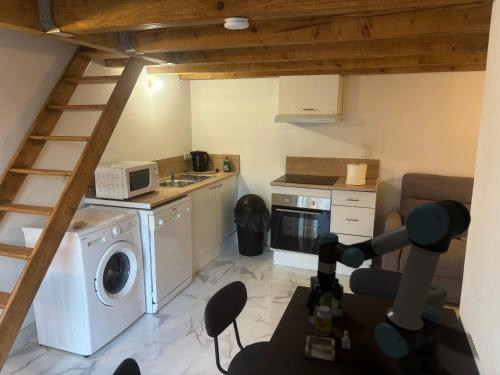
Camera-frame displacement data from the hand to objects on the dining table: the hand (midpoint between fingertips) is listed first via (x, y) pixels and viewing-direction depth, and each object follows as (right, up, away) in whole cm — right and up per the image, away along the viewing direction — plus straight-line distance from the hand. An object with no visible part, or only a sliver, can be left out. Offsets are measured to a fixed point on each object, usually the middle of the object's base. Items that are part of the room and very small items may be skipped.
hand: (323, 317), depth 158 cm
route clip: (+8, -8, -7) cm, 13 cm away
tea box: (+5, -4, +21) cm, 21 cm away
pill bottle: (0, -7, +1) cm, 7 cm away
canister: (+45, -6, +9) cm, 47 cm away
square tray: (-4, -8, -12) cm, 15 cm away
